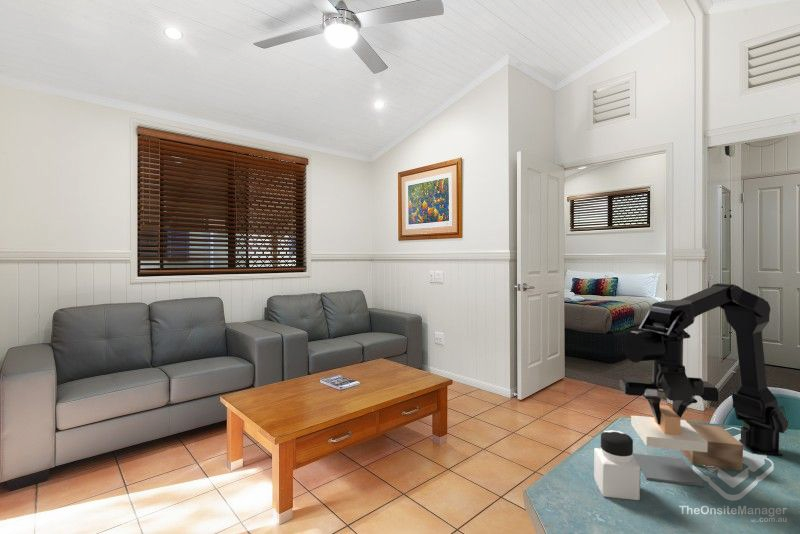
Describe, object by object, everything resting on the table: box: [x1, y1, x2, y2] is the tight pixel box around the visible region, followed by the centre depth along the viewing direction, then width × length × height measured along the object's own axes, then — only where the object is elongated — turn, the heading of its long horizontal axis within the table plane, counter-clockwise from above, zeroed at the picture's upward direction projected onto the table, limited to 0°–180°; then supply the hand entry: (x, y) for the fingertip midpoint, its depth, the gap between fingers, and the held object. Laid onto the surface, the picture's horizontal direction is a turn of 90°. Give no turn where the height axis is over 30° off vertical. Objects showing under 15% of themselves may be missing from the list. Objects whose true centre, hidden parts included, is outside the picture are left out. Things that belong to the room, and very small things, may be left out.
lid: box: [630, 404, 708, 452], centre depth 94 cm, size 12×12×6 cm
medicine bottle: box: [593, 429, 641, 501], centre depth 87 cm, size 7×7×12 cm
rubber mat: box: [633, 452, 705, 487], centre depth 94 cm, size 11×11×1 cm
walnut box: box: [679, 423, 744, 471], centre depth 100 cm, size 10×10×6 cm
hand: (666, 424), depth 94 cm, fingers closed on lid, 3 cm apart
